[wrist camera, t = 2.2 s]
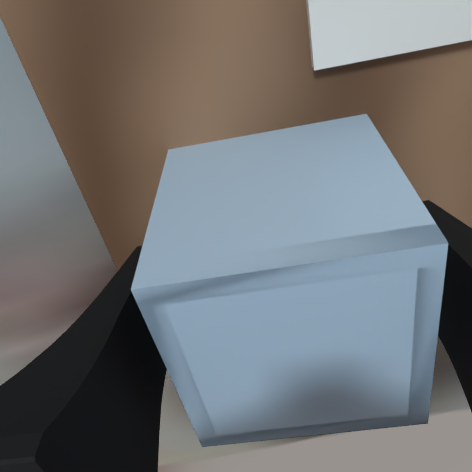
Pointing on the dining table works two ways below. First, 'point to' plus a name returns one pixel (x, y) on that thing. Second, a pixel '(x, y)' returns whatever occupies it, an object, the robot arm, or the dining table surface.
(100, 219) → the board
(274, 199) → the light blue cube
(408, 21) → the pad
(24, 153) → the dining table surface
